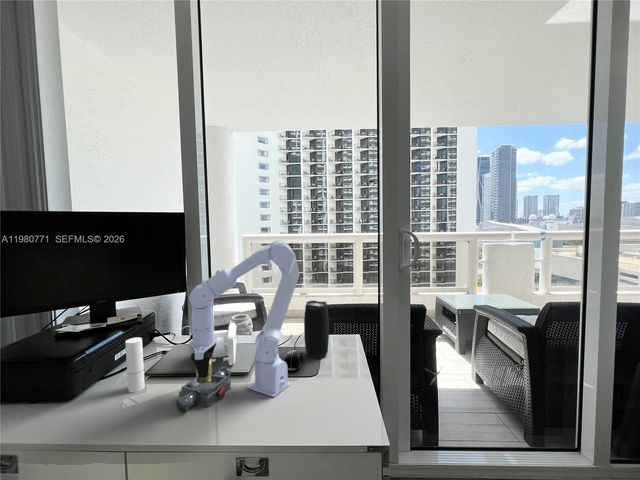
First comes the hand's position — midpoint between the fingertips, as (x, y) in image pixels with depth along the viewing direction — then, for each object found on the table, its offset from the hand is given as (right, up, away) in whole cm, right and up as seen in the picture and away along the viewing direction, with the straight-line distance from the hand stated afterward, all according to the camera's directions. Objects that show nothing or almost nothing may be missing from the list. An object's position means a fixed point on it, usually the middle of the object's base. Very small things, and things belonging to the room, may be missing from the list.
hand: (205, 373), depth 92 cm
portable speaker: (+32, -4, +26) cm, 41 cm away
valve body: (0, -6, 0) cm, 6 cm away
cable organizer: (-2, -5, +23) cm, 23 cm away
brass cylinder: (0, -2, 0) cm, 2 cm away
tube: (-22, -7, +4) cm, 23 cm away
